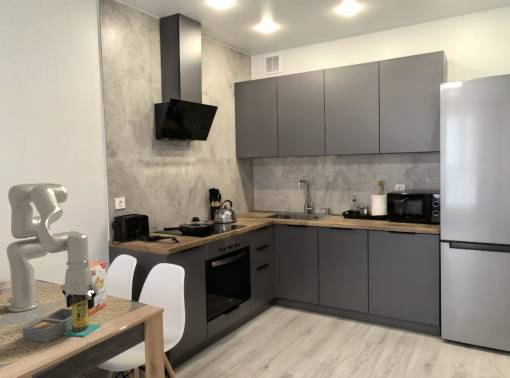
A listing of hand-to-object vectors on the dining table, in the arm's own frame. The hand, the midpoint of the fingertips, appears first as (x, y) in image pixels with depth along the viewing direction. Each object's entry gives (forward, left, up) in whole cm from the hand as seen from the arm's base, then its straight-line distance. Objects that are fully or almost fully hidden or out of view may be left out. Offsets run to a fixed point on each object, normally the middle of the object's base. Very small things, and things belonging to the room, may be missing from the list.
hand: (80, 307), depth 156 cm
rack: (-11, -1, -9) cm, 15 cm away
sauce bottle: (0, 0, -9) cm, 9 cm away
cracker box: (-10, +20, -10) cm, 24 cm away
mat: (0, 0, -9) cm, 9 cm away
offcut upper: (-11, -7, -8) cm, 15 cm away
